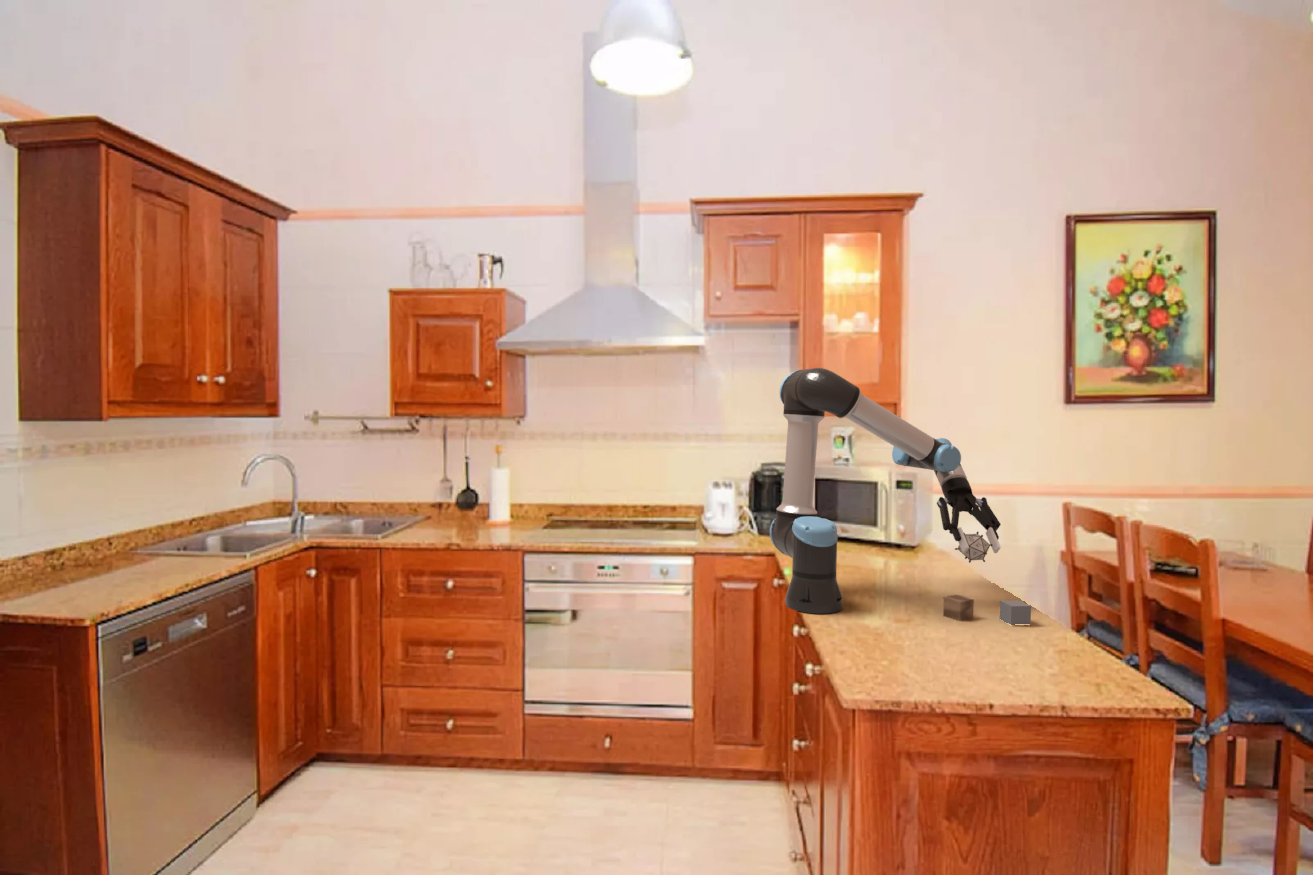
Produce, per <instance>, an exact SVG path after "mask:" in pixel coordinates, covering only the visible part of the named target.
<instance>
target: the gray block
mask: <svg viewBox="0 0 1313 875" xmlns="http://www.w3.org/2000/svg"><path fill="white" fill-rule="evenodd" d="M1031 612H1032V606H1031V605H1030V604H1027V603H1026V602H1023V601H1021V600H1017V599H1016V600H999V620H1000V619H1001V620H1003V621H1004V622H1003V621H1002V622H1003V623H1005V622H1006V623H1009V624H1011V625H1015V624H1031V623H1032V621H1031V617H1032V613H1031ZM1001 620H1000V621H1001ZM1006 623H1005V624H1006Z"/></svg>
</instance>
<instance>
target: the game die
mask: <svg viewBox="0 0 1313 875" xmlns="http://www.w3.org/2000/svg"><path fill="white" fill-rule="evenodd" d="M963 533H964V535H965V538H966V540H967V543H968V545H969V549H968V550H967V552H966V553H963V552H962V550H961V547H960V545H959V544H958V546H957V547H955V548H954V550H955V551H959V552H960V553H961V554H962V555H963V556H965V557H964V560H967V559H968V563H969V564H970V563H971V562H972V561H982V562H983V563H986V560H985V558H986V555H988V552H989V549H990V547H991V546H992V544H990V542H988V541H987V540H985V538H983V537H984V534H981V535H980V534H979V531H976V533H965V532H964V531H963Z"/></svg>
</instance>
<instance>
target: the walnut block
mask: <svg viewBox="0 0 1313 875" xmlns="http://www.w3.org/2000/svg"><path fill="white" fill-rule="evenodd" d="M974 601H975V600H974V598H969V597H966V596H962V595H959V594H954V595H948V596H944V597H943V611H942V612H943V614H942V616H943V617H946V618H949V619H952V620H955V621H958V622H962V621H968V620H972V619H974V603H975V602H974Z"/></svg>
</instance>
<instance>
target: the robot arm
mask: <svg viewBox="0 0 1313 875" xmlns="http://www.w3.org/2000/svg"><path fill="white" fill-rule="evenodd" d="M861 392H862V391H861V389H860V387H858V386H856V385H855V384H853V383H852V382H850V381H849V380H847V379H846V378H844V377H842V376H840V375H839V374H838V373H835V372H833V371H831V370H829V369H826V368H824V367H814V368H806V369H805V368H804V369H798V370H795V371H793V372H790V373H789V374H788V375H786V376H785V378H783V380H782V381H781V384H780V387H779V398H780V401H781V402H782V404H783V414H782V415H783V417H784V418H785V419H786V420H787V433H786V447H785V460H784V474H783V487H782V488H783V489H782V501H781V504H779V506H777V507H776V510H775V511H776V512H775V518H774V519H773V520H772V522H771V524H770V526H769V538H770V541H771V542H772V543H771V544H772V545H773V546H774V548H776V549H777V551H779V552H780V553H782V554H783V555H785V556H787V557H789V558H792V570H791V571H792V574H791V579H790V582H789V585H788V588H787V591H786V593H785V603H784V604H785V606H786V607H787V608H788V609H791V610H794V611H796V612H800V613H807V614H808V613H809V614H817V615H818V614H819V615H820V614H821V615H823V614H832V613H837V612H840V611H842V610H843V609H844V608H843V607H844V606H843V605H844V604H843V603H844V602H843V601H844V600H843V597H842V596H843V595H842V594H841V591H840V587H839V584H838V581H837V580H838V578H837V566H838V565H837V561H838V539H839V536H838V528H837V525H836V524H835V522H833V521H832V520H829V519H827V518H824V517H823V518H822V517H820V516H818V511H817V509H815V508H814V506H813V502H814V501H813V500H814V487H815V486H814V485H815V474H816V473H815V472H816V463H817V462H816V461H817V460H816V459H817V449H818V448H817V447H818V434H819V433H818V432H819V424H820V422H821V421H822V420H823V419H825V413H829V414H832V415H834V416H835V417H837V418H839V419H844V418H846V419H848V420H849V421H851V422H853V423H855V424H856V425H858V426H860V427H861V428H863V429H865V430H866V431H868V432H870V433H871V434H872V435H874V436H876V437H878V438H879V439H881V440H883V441H884V442H886V443H888V444H889V445H892V446H893V447H892V453H891V456H892V461H893V462H894V464H895V465H898V466H902V467H909V468H917V469H918V468H919V469H923V470H931V471H934V474H935V476H936V478H937V481H938V483H939V486H940V488H941V491H942V493H943V494H942V495H943V496H944V497H943V496H940V497H939V498H938V500H937V502H936V505H937V506H938V508H939V513H940V517H941V518H940V519H941V523H942V524H941V525H942V529H943V531H949V534H951V535H952V536H953V539H954V541H955V542H958V546H959V545H960V547H961V550H962V552H963V553H966V552H967V550H968V549H969V545H968V543H967V540H966V538H965V535H964V533H965V532H964V531H963V529H962V527H961V526H960V527H959V519H960V513H961V512H965V513H968V514H969V515H970V516H972V517H973V518H975V520H976V521H977V522H979V524H980V525H981V526H982V527H983V528H984V529H985V530H986V531H985V536H986V537H987V540H988V543H989V544H992V546H990V547H991V549H992V551H993V553H994V554H998V553H999V551H1000V550H1001V548H1002V546H1001V544H1000V543H999V534H998V532H997V531H998V529H999V528H1000V526H1001V522H1000V521H999V519H998V517H997V516H996V515H995V512H993V509H992V508H991V507H990V505H989V504H988V501H987V497H981V498H977V497H976V496H975V495H974V493H973V489H972V487H971V485H970V483H969V482H970V481H969V480H968V479H967V478H968V477H967V475H966V473H965V470H964V469H963V467H962V464H961V462H962V453H961V452H960V450H959V449H958V447H956V446H954V445H953V444H952V442H951V441H950V440H949V439H947V438H943V437H940V438H934V437H932V436H931V435H929V434H928V433H925V431H922V430H921V429H919V428H918V427H916V426H914V425H913V424H911V423H909V422H908V421H906V420H905V419H903V418H901V417H900V416H898V415H897V414H895V413H893V412H892V411H890V410H888V409H887V408H885V407H884V406H882V405H880V404H879V403H877V402H875V401H873V400H872V399H871V398H869V397H867V396H866V395H864V394H862V393H861ZM948 506H950V507H951V509H952V510H951V518H950V514H949V508H948ZM963 532H964V533H963Z"/></svg>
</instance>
